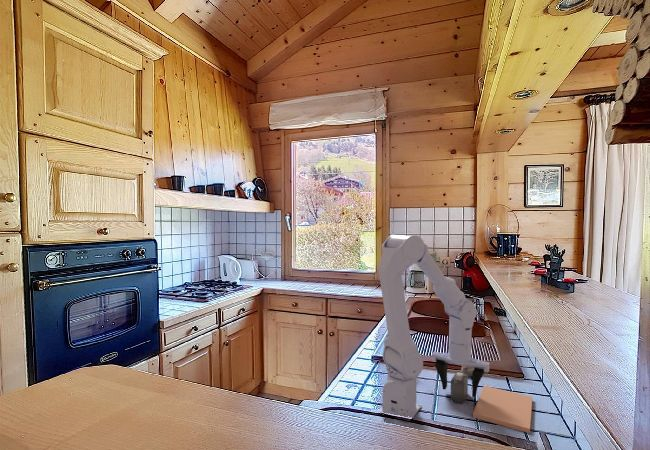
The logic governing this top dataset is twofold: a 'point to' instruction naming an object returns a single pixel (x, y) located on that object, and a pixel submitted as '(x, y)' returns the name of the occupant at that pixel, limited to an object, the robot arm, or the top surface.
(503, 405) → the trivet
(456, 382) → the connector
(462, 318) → the robot arm
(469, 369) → the figurine
